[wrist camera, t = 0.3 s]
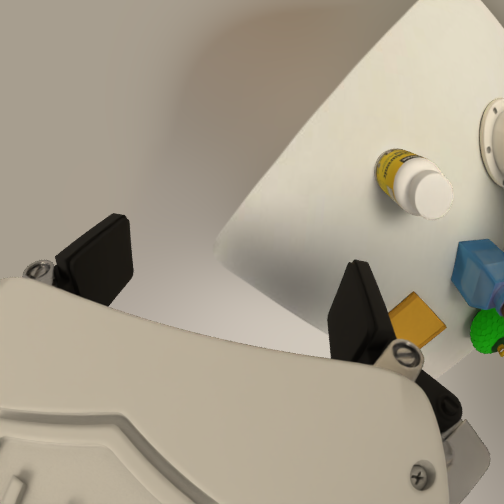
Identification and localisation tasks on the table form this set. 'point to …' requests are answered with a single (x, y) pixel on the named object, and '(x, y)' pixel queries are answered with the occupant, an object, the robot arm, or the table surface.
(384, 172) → the supplement bottle
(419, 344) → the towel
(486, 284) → the perfume bottle
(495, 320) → the ornament
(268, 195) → the table surface
